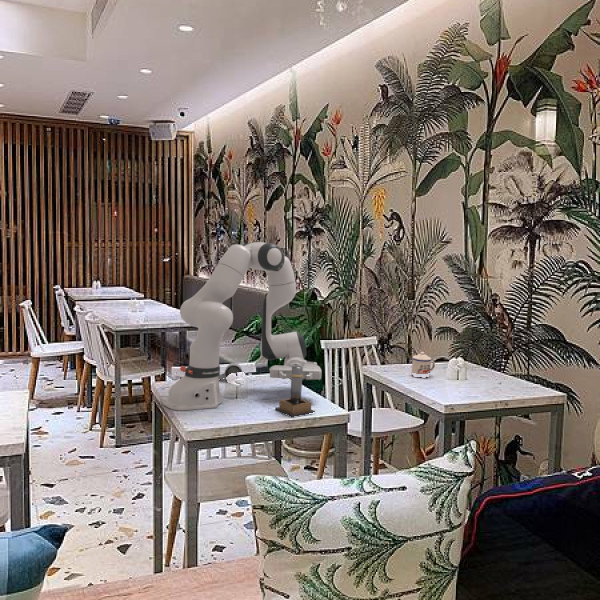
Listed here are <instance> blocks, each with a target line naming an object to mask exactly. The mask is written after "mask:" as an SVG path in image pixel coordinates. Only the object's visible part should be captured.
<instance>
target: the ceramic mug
mask: <svg viewBox="0 0 600 600" xmlns="http://www.w3.org/2000/svg"><path fill="white" fill-rule="evenodd" d="M237 372H242V373H243V367H242V366H241V365H240V364H239V363H236V362H231V363H229V364H228V365H227V366H226V368H225V370H224V373H220V377H219V379H223V378H225V379H226V377H227V375H229V374H231V373H237ZM223 380H224V379H223Z"/></svg>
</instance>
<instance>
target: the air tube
mask: <svg viewBox="0 0 600 600" xmlns="http://www.w3.org/2000/svg"><path fill="white" fill-rule="evenodd" d="M302 372H303V367H302V366H292V373H291V380H290V395H289V396H290V397H289V399H290V403H292V404H300V403H301V399H302V389H303V388H302V387H303V379H302V377H303V374H302Z"/></svg>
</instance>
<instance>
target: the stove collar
mask: <svg viewBox="0 0 600 600" xmlns="http://www.w3.org/2000/svg"><path fill="white" fill-rule="evenodd" d="M275 411H276V412H278V411H279V412H278V413H281V414H283V413H284V414H283V415H285V414H287V415H289V416H291V417H290V418H292V417H293V418H295V417H294V416H298V417H300V416H299V415H304V416H306V415H305V414H309V413H313V412H315V413H316V411H315V410H314V409H312V402H310V401H307V400H305V399H303V398H301V403H300V404H292V403H290V398H283V399H279V405H278V406H276V407H275ZM287 415H286V416H287ZM289 416H288V417H289Z"/></svg>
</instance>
